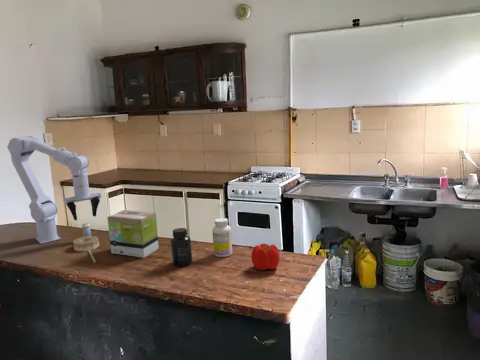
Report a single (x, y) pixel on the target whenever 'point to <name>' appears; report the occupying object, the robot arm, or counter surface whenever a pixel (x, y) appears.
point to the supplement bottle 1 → (181, 248)
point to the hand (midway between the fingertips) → (85, 217)
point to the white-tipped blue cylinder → (86, 229)
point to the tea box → (133, 233)
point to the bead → (86, 243)
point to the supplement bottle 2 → (222, 238)
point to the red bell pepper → (265, 256)
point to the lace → (91, 256)
